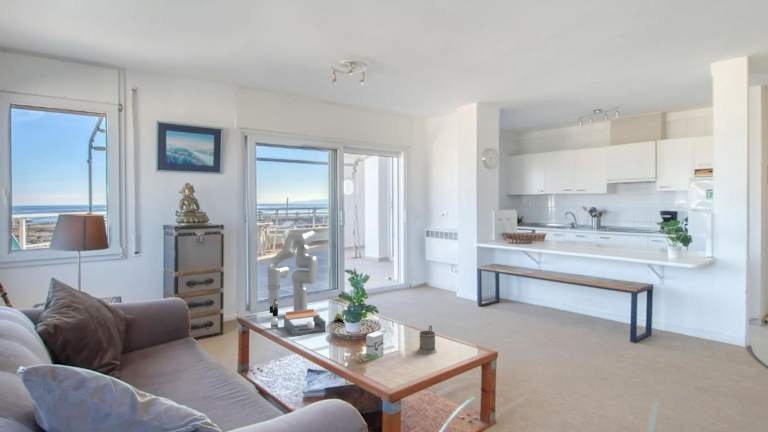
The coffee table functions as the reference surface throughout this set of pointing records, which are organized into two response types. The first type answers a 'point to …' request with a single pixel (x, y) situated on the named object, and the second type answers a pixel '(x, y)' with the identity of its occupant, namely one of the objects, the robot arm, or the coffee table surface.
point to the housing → (306, 327)
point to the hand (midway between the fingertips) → (273, 314)
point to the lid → (301, 314)
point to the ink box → (374, 345)
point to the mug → (427, 342)
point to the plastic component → (338, 316)
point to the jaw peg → (274, 323)
